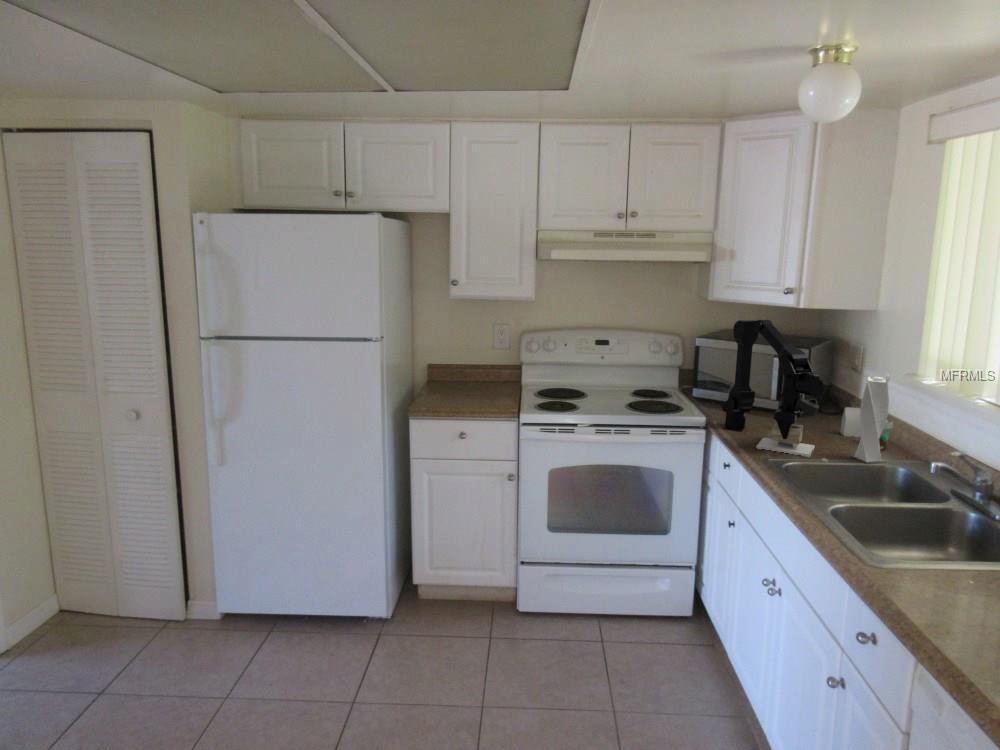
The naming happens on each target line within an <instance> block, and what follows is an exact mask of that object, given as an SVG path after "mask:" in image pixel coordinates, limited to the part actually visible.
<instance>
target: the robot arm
mask: <svg viewBox="0 0 1000 750" xmlns="http://www.w3.org/2000/svg"><path fill="white" fill-rule="evenodd" d="M732 330H733V339H734V341H735V342H736V344H737V350H736V363H735V375H734V377H735V378H734V385H733V386H732V388H731V389H730V390H729V393H728V399H727V400H725V402H724V403H723V404H721V410H722V412H724V413H725V422H724V426H723V429H724V430H730V431H731V430H732V431H738V432H742V431H744V430H745V428H747V419H748V417H747V416H746V414H748V413H750V412H751V409H752V407H753V406H754V403H756V402H755V401H756V400H755V395H756V392H755V390H752V388H751V387H750V386H751V385H750V383H751V372H752V358H753V347H754V344H755V343H756V342H757V340H758V338H759V333H760V335H761V336H762V337H763V339H764V340H765V341H766V342H767V343H768V344H769V345H770V346H771V348H772V349H773V350H774V351H775V353H776V354H777V359H778V362H779V363H780V365H781V367H782V368H783V369H782V370H780V371H779V372H778V375H780V376H783V377H782V386H781V392H780V394H779V396H780V404H779V406H778V410H776V411H775V412H774V414H773V420H775V422H777V424H778V426H779V429H780V432H781V435H782V437H783V439H787V437H788V433H789V430H790V427H791V425H792V424H796V422H797V419H798V418H799V417H801V416H802V414H803V413H805V414H807V415H808V416H810V417H813V418H814V417H815V415H816V413H817V412H818V409H819V408H820V405H819V404H818V401H817V400H818V399H816V398H818V397H820V396H821V395H822V393H823V392H824V389H825V385H824V383H823V381H822V380H821V379H820V378H821V377H820V374H819V375H818V374H815V373H814V370H813V368H812V366H811V364H810V360H809V357H808V355H807V354H806V352H804V351H803V350H802V349H800V348H799V347H796V346H795V345H792V344H791V343H790V342H789V341H788V340H787V339H786V338H785V337H784V336H783V334H782V333H781V332H780V331H779V330H778V329H777V328H776V326H775V325H774V324H773V321H772V320H771V319H757V320H755V319H748V320H747V319H746V320H743V319H741V320H738V321H736V322H735V323H734V325H733V329H732ZM804 395H806V396H808V397H809V396H810V397H813V398H810V399H806V398H803V396H804Z"/></svg>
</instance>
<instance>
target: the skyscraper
mask: <svg viewBox="0 0 1000 750" xmlns="http://www.w3.org/2000/svg"><path fill="white" fill-rule="evenodd" d="M885 376H886V377H885V378H886V379H884V377H879V376H873V377H872V378H871V376H868V377H867V378H866V384H865V387H864V391H863V394H862V397H861V403H860V407H859V408H860V430H861V437H860V441H859V443H858V447H856V448H857V449H856V451H855V454H852V455H850V457H851V456H852V457H851V458H853V457H854V458H853V459H855V458H857V459H856V460H858V459H859V460H858V461H860V460H862V461H864V462H865V463H864V462H863V463H864V464H884V462H887V460H885V459H883V458H882V456H881V455H882V454H881V451H880V444H879V438H880V436H881V434H882V431H883V429H884V426H885V423H886V419H887V418H888V414H889V407H890V406H889V405H890V399H889V398H890V397H889V396H890V395H889V385H888V383H889V381H890V374H889V373H888V374H886V375H885ZM862 461H861V462H862ZM887 463H888V462H887Z"/></svg>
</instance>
